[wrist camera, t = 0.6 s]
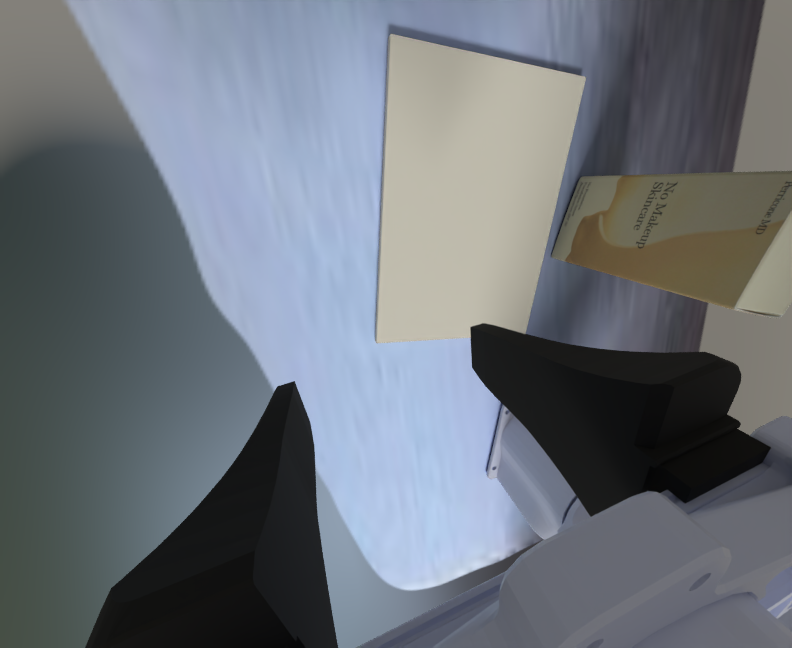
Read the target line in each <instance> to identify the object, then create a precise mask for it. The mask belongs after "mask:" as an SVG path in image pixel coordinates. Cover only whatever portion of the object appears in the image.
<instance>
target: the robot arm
mask: <svg viewBox="0 0 792 648" xmlns="http://www.w3.org/2000/svg"><path fill="white" fill-rule="evenodd" d="M470 331H471V353H472V368H473V369H474V371H475V372H476V374H477V375H478V377H479V378H480V379H481V381H482V382H483V383H484V385H485V386H486V387H487V388H488V389H489V390H490V391H491V392H492V393H493V394H494V396H495V397H496V398H497V399H498V400H499V401H500V402H501V403H502V404H503V405H502V409H501V413H500V417H499V422H498V426H497V431H496V435H495V439H494V444H493V448H492V452H491V457H490V461H489V466H488V470H487V476H488V478H489V479H493V478H497V479H498V480H499V482H500V483H501V485H502V486H503V488H504V489H505V491H506V492H507V493H508V495H509V496H510V498H511V499H512V501H513V502H514V504H515V505H516V506H517V508H518V509H519V511H520V512H521V514H522V515H523V517H524V518H525V519H526V521H527V522H528V524H529V525H530V527H531V528H532V529H533V530H534V531H535V532H536V533H537V534H538V535H539V536H540V537H541V538H542V539H544V540H543V541H542V542H540V543H539V544H537V545H536V546H534V547H533V548H531V549H529V550H528V551H526V552H525V553H523V554H522V555H521V556H520V557H519V558H518V559H517V560H516V561H515V562H514V564H513V565H512V566H511V567H510V568H509V569H508V570H507V571H506V572H504V573H502V574H500V575H498V576H496V577H494V578H492V579H490V580H488V581H486V582H485V583H483V584H480V585H479V586H476V587H474V588H473V589H471V590H469V591H467V592H465V593H463V594H461V595H459V596H457V597H455V598H453V599H451V600H449V601H447V602H445V603H443V604H441V605H439V606H437V607H435V608H433V609H431V610H429V611H428V612H425V613H423V614H421V615H419V616H417V617H415V618H413V619H412V620H410V621H408V622H406V623H404V624H402V625H400V626H398V627H396V628H394V629H392V630H390V631H388V632H386V633H384V634H382V635H380V636H378V637H376V638H374V639H373V640H370V641H368V642H366V643H364V644H362V645H360V646H358V647H357V648H792V418H790V417H788V416H781V417H779V418H777V419H775V420H773V421H771V422H769V423H767V424H765V425H763V426H761V427H759V428H758V429H756V430H755V431H754V432H753V433H752V434H751V435H750V436H749V435H748V434H746V433H744V432H742V431H740V430H739V429H737V428H739V427H740V425H741V424H740V422H739V421H738V420H736V419H734V418H733V417H731V416H729V415H727V413H728V411H729V408H730V406H731V404H732V402H733V399H734V397H735V395H736V393H737V391H738V388H739V385H740V382H741V373H740V370H739V367H738V366H737V365H736V364H734V363H733V362H730V361H728V360H725V359H723V358H720V357H718V356H715V355H713V354H710V353H707V352H677V353H654V352H629V351H616V350H606V349H597V348H589V347H583V346H576V345H570V344H565V343H560V342H556V341H551V340H547V339H543V338H539V337H535V336H531V335H527V334H524V333H520V332H517V331H513V330H510V329H506V328H502V327H499V326H495V325H491V324H486V323H482V324H479V325H475V326H472V327H470ZM85 648H338V645H337V639H336V633H335V627H334V622H333V616H332V610H331V604H330V597H329V591H328V585H327V579H326V572H325V566H324V559H323V552H322V546H321V539H320V531H319V525H318V516H317V502H316V476H315V452H314V442H313V436H312V430H311V425H310V421H309V418H308V416H307V413H306V410H305V408H304V405H303V402H302V400H301V397H300V394H299V392H298V389H297V387H296V384H295V381H294V382H290V383H287V384H284V385H281V386H278V387H277V388H276V390H275V392H274V394H273V396H272V398H271V400H270V402H269V404H268V406H267V408H266V410H265V412H264V414H263V416H262V417H261V419H260V421H259V423H258V425H257V427H256V428H255V430H254V432H253V433H252V435H251V437H250V438H249V440H248V442H247V443H246V445H245V446H244V448H243V450H242V451H241V453H240V454H239V455H238V457H237V458H236V460H235V461H234V463H233V464H232V465H231V467H230V468H229V469H228V471H227V472H226V473H225V475H224V476H223V477H222V479H221V480H220V481H219V482H218V483H217V484H216V485H215V487H214V488H213V489H212V490H211V492H209V494H208V495H207V496H206V497H205V498H204V499H203V501H202V502H201V503H200V504H199V505H198V506H197V507H196V508H195V510H194V511H193V512H192V513H191V514H190V515H189V516H188V517H187V518H186V519H185V520H184V521H183V522H182V523H181V524H180V525H179V526H178V527H177V528H176V529H175V530H174V531H173V532H172V533H171V534H170V535H169V536H168V537H167V538H166V539H165V540H164V541H163V542H162V543H161V544H160V545H159V546H158V547H157V548H156V549H155V550H154V551H152V552H151V553H150V554H149V555H148V556H147V557H146V558H145V559H144V560H143V561H141V562H140V563H139V564H138V565H137V566H136V567H135V568H134V569H133V570H132V571H130V572H129V573H128V574H127V575H126V576H125V577H124V578H123V579H122V580H120V581H119V582H118V583H117V584H116V585H115V586H113V587H112V588H111V590H110V592H109V594H108V596H107V598H106V601H105V603H104V605H103V607H102V609H101V611H100V614H99V616H98V618H97V621H96V623H95V625H94V628H93V630H92V633H91V635H90V637H89V640H88V642H87V645H86V647H85Z"/></svg>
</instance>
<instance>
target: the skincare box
mask: <svg viewBox="0 0 792 648" xmlns="http://www.w3.org/2000/svg"><path fill="white" fill-rule="evenodd" d="M551 257H552V258H555V259H558V260H562V261H565V262H568V263H572V264H576V265H579V266H583V267H586V268H590V269H593V270H597V271H600V272H604V273H607V274H611V275H614V276H617V277H621V278H624V279H628V280H631V281H635V282H638V283H642V284H645V285H649V286H652V287H656V288H659V289H663V290H666V291H670V292H674V293H677V294H681V295H684V296H688V297H691V298H695V299H698V300H702V301H705V302H709V303H712V304H715V305H719V306H723V307H725V308H729V309H733V310H737V311H741V312H745V313H749V314H755V315H760V316H765V317H771V318H780V317H781V316H783V314H784V313H785V312H786V310H787V308H788V307H789V305H790V304H791V302H792V171H773V172H772V171H771V172H726V173H687V174H654V175H615V176H583V177H581V178H580V180H579V182H578V184H577V187H576V190H575V192H574V195H573V197H572V200H571V202H570V205H569V208H568V210H567V213H566V216H565V218H564V221H563V224H562V227H561V230H560V233H559V235H558V238H557V241H556V244H555V247H554V250H553V252H552V256H551Z"/></svg>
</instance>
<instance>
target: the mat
mask: <svg viewBox="0 0 792 648" xmlns="http://www.w3.org/2000/svg"><path fill="white" fill-rule="evenodd" d="M585 80H586V77H584V76H579V75H575V74H570V73H566V72H561V71H557V70H552V69H547V68H543V67H538V66H534V65H529V64H525V63H520V62H516V61H511V60H507V59H502V58H498V57H493V56H489V55H484V54H480V53H475V52H471V51H466V50H462V49H457V48H453V47H448V46H444V45H439V44H435V43H430V42H426V41H421V40H417V39H412V38H408V37H403V36H399V35H394V34H390V36H389V37H388V55H387V78H386V101H385V124H384V147H383V170H382V193H381V216H380V239H379V262H378V285H377V308H376V331H375V341H376V343H390V342H406V341H422V340H439V339H455V338H471V331H470V327H472V326H475V325H479V324H482V323H486V324H491V325H495V326H499V327H502V328H506V329H510V330H513V331H517V332H520V333H524V334H526V330H527V325H528V321H529V317H530V313H531V308H532V304H533V300H534V296H535V292H536V287H537V283H538V279H539V275H540V270H541V266H542V262H543V258H544V254H545V249H546V245H547V241H548V237H549V232H550V228H551V224H552V220H553V215H554V211H555V207H556V203H557V199H558V194H559V190H560V186H561V182H562V177H563V173H564V169H565V165H566V160H567V156H568V152H569V148H570V144H571V139H572V135H573V131H574V127H575V122H576V118H577V114H578V110H579V106H580V101H581V97H582V93H583V89H584V84H585Z"/></svg>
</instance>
